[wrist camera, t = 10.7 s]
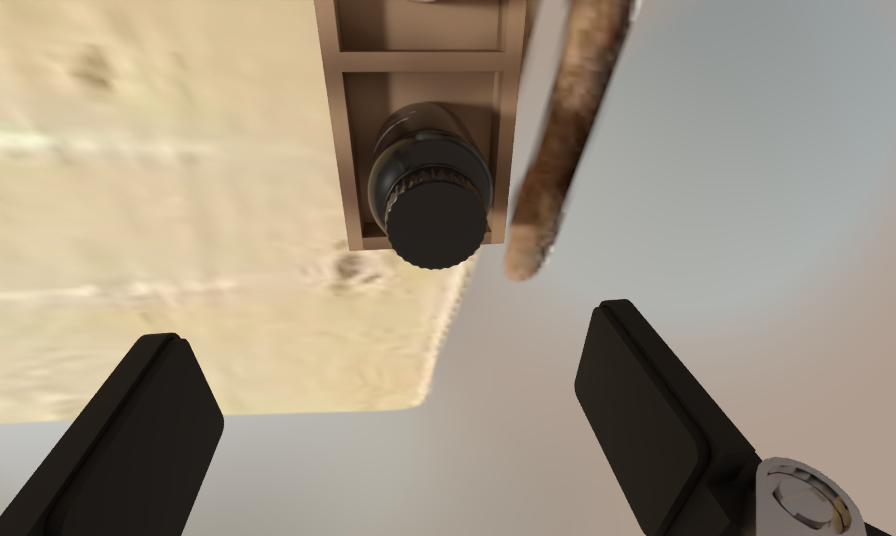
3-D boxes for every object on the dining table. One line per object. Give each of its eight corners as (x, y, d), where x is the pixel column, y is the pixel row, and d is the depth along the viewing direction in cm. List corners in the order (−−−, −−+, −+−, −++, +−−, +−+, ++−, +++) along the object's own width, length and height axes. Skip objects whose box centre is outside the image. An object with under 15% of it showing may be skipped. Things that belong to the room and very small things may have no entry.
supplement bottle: (380, 91, 26) (371, 136, 16) (480, 111, 27) (531, 164, 17) (369, 190, 29) (356, 280, 19) (459, 203, 31) (491, 294, 20)
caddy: (292, -234, 19) (273, -282, 16) (528, -217, 20) (551, -258, 17) (353, 229, 32) (349, 250, 29) (494, 223, 33) (504, 243, 30)
